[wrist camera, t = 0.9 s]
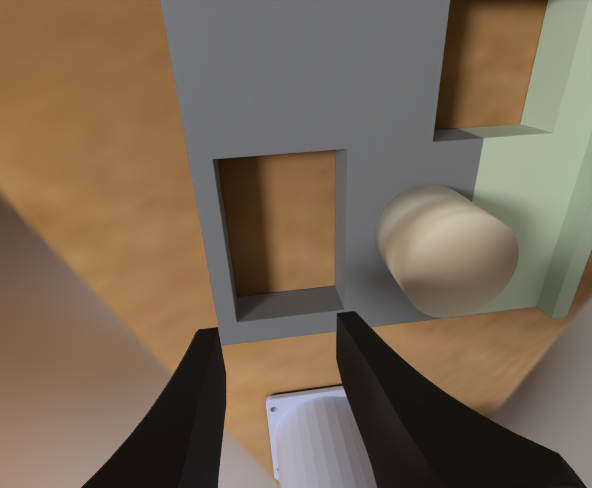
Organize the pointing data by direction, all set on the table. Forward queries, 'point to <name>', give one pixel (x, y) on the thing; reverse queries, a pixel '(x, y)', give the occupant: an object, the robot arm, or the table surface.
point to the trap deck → (380, 144)
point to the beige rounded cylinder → (445, 250)
